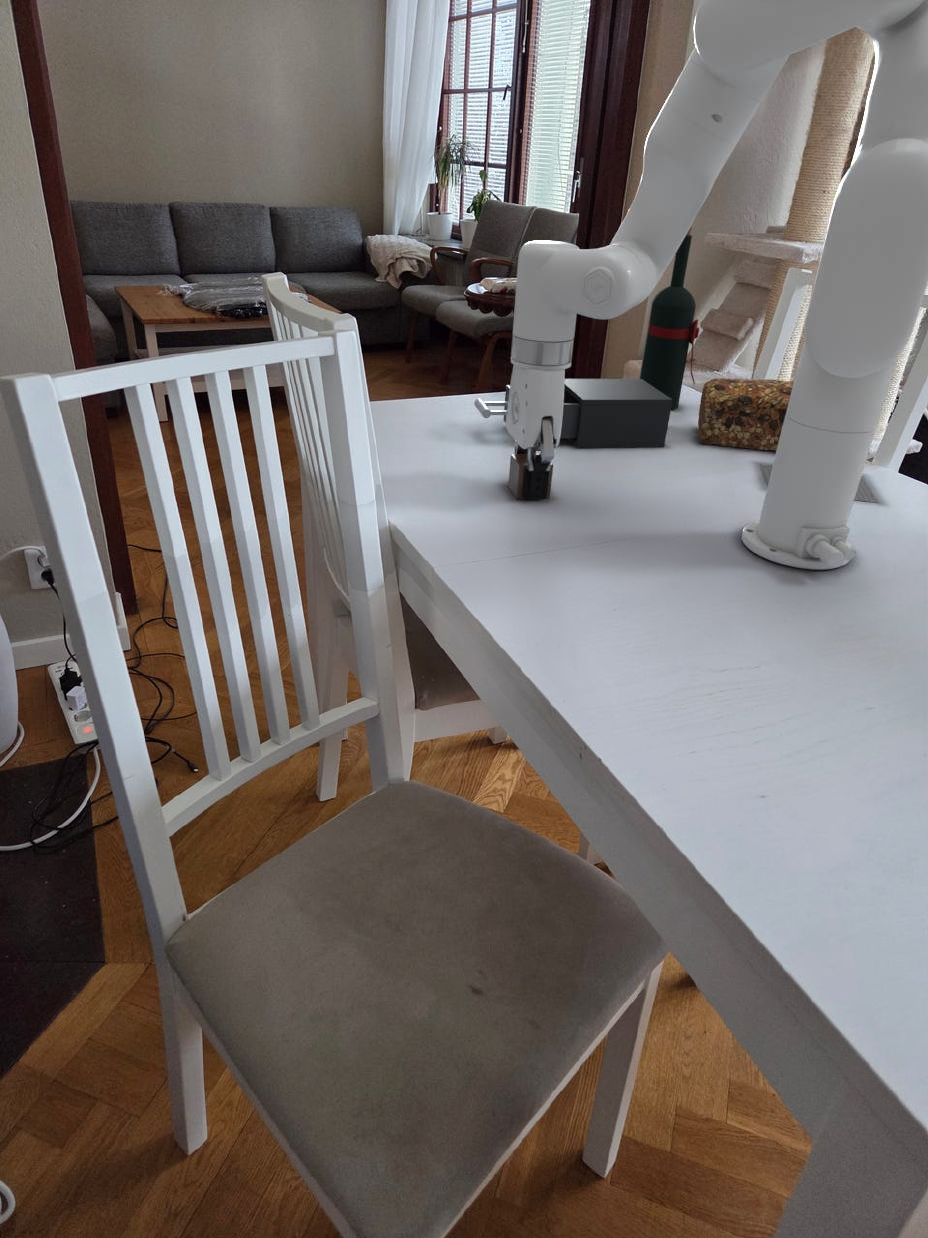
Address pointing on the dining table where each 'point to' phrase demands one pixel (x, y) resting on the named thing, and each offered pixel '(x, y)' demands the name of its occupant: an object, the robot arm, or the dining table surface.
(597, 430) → the cabinet
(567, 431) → the drawer
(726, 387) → the bread
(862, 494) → the architectural model
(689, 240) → the wine bottle
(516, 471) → the block
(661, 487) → the dining table surface
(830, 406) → the robot arm
